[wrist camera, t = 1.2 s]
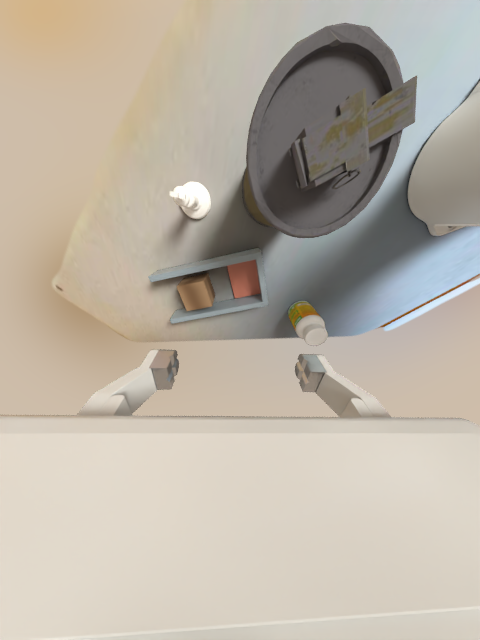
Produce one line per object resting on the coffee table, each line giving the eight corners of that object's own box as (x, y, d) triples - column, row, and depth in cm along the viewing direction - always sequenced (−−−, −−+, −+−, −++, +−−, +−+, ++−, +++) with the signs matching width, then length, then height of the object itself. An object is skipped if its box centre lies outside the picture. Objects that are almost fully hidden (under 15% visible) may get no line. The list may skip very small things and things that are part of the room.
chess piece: (209, 221, 29) (197, 224, 20) (180, 215, 28) (154, 216, 20) (212, 185, 26) (199, 171, 18) (179, 178, 26) (150, 159, 17)
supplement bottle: (289, 300, 36) (304, 324, 28) (314, 300, 37) (336, 324, 28) (285, 321, 39) (298, 349, 31) (308, 321, 39) (327, 349, 31)
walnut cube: (208, 272, 33) (203, 281, 29) (215, 295, 36) (212, 306, 32) (184, 277, 34) (176, 286, 30) (193, 300, 36) (186, 311, 32)
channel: (258, 247, 31) (261, 251, 27) (265, 296, 36) (268, 305, 33) (157, 270, 33) (148, 276, 30) (177, 313, 38) (171, 323, 35)
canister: (257, 238, 30) (282, 267, 13) (230, 168, 25) (213, 68, 8) (318, 206, 28) (446, 190, 11) (302, 122, 23) (494, -160, 6)
